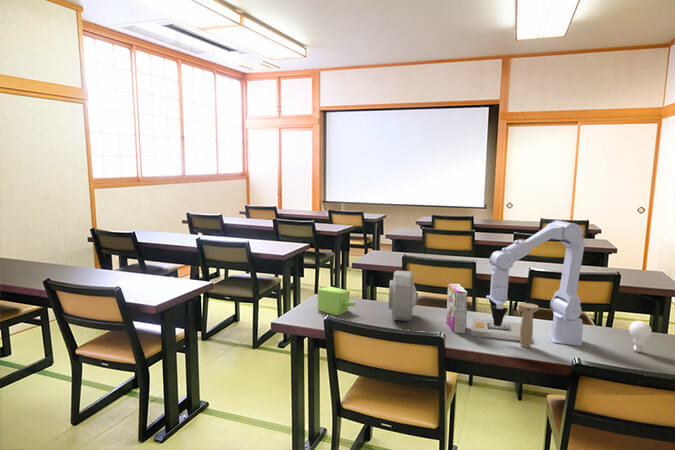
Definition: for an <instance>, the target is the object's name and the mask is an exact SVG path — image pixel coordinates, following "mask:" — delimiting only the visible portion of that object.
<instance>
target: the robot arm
mask: <svg viewBox="0 0 675 450" xmlns="http://www.w3.org/2000/svg"><path fill="white" fill-rule="evenodd" d="M583 235H584V229H583V228H582V227H581V226H580V225H579V224H577V223H576V222H575V223H574V222H568V221H564V220H563V221H562V220H560V219H556V220H553V221H552V222H549V223H547V224H546V225H545V226H544V228H542V229H540V230H539V231H538V232H536V233H535V234H533V235H531V236H530V237H528V238H527V239H526V240H523V239H522V240H521V239H519V240H518V239H516V240H514V241H513V243H512V244H510V245H508V246H506V247H503V248H502V249H501V250H496V251H493V252H492V253H491V255H490V257H489V258H488V261H489V264H490V265H491V275H490V277H491V278H490V290H489V291H490V292H489V295H486V299H487V300H488V302H489V303H490V305H489V307H490V310H491V316H492V320H493V321H494V326H500V327H501V324H502V321H504V317H505V315H506V314H507V312H508V307H504V305H505V304H506V303H507V301H508V300H509V299H508V291H509V290H508V289H509V278H510V277H509V276H510V269H511V268H513V266H514V263H516V262H517V261H519V260H522V258H524V257H527V255H530V253H531V249H533V248H535V247H537V246H539V245H541V244H543V243H546V242H547V241H549V240H557V241H558V240H559V241H560V242H561V243H562V244H563V245H564V247H565V254H564V260H563V265H562V271H561V276H560V277H561V278H560V284H559V289H558V290H555V292H554V294H553V297H552V299H551V301H550V304H549V305H550V309H551V310H552V313H553V319H552V330H551V333H548V336H549V338H550V340H551V342H552V343H554V344H563V345H570V346H572V345H573V346H579V347H581V346H582V345H583V344H582V340H583V330H584V323H583V320H582V318H580V316H581V315H582V307H581V303H582V300H581V298H580V296H579V295H578V293H577V290H578V285H579V279H580V273H581V269H582V268H581V267H582V263H583V258H584V257H583V256H584V250H585V241H584V238H583V237H584V236H583Z"/></svg>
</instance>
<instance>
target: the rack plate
mask: <svg viewBox="0 0 675 450" xmlns="http://www.w3.org/2000/svg"><path fill="white" fill-rule="evenodd" d="M470 326H471V327H470V329H471V336H472V337H480V338H488V339H496V340H504V341H513V342H514V341H515V342H521V341H520V330H521V322H520V323H519V322H512V321H511V322H510V321H504V320H503V321H502V324H501V327H500V326H494V321H493V319H485V318H473V317H471V318H470ZM496 329H497V330H496ZM498 329H499V330H498ZM507 330H508V331H507Z"/></svg>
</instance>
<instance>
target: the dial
mask: <svg viewBox="0 0 675 450" xmlns="http://www.w3.org/2000/svg"><path fill="white" fill-rule="evenodd" d="M418 300H419V292H417V288H416V286H415V284H414V273H413V272H412V271H410V270H409V271H408V270H407V271H406V270H395V271H394V272H393V279H389V288H388V310H391V318H392V320H395V321H404V322H410V321H411V320H412V319H413V318H412V317H413V316H412V315H413V309H414V307H415V305H416V303H417V301H418Z"/></svg>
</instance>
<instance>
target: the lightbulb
mask: <svg viewBox="0 0 675 450" xmlns="http://www.w3.org/2000/svg"><path fill="white" fill-rule="evenodd" d="M628 331H629V335H630V336H631V338H632V342H633V351H634V352H636V353H642V352H643V350H644V344H645V343H646V341H647V340H648V339H649V338H650V337H651V335H652V333H653V332H652V331H653V330H652V328H651V326H650V325H649V324H648V323H647V322H645V321H642V320H635V321H633V322H631V324H629V327H628Z"/></svg>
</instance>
